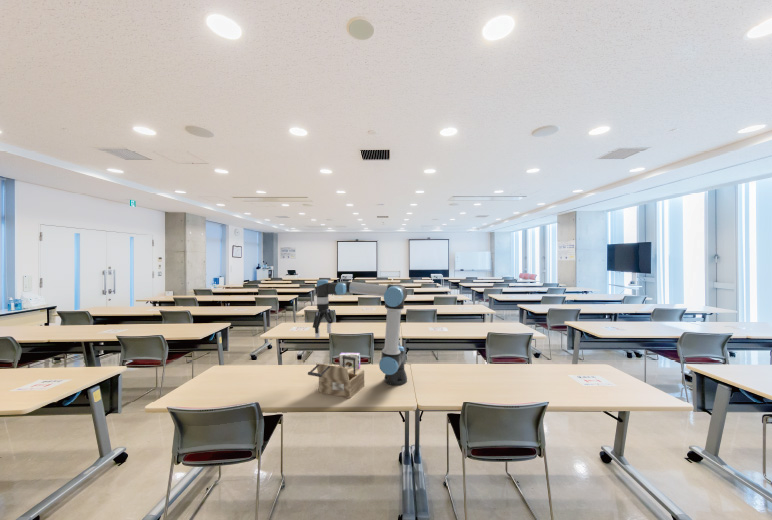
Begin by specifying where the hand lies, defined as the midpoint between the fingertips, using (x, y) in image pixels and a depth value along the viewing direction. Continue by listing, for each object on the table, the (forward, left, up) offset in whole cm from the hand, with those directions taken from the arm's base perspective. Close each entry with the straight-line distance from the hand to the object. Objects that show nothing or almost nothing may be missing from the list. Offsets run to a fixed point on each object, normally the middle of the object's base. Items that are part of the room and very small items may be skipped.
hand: (323, 335), depth 208 cm
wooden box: (-17, +4, -31) cm, 36 cm away
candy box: (-12, -14, -31) cm, 36 cm away
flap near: (-17, +14, -17) cm, 28 cm away
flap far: (-17, 0, -21) cm, 27 cm away
